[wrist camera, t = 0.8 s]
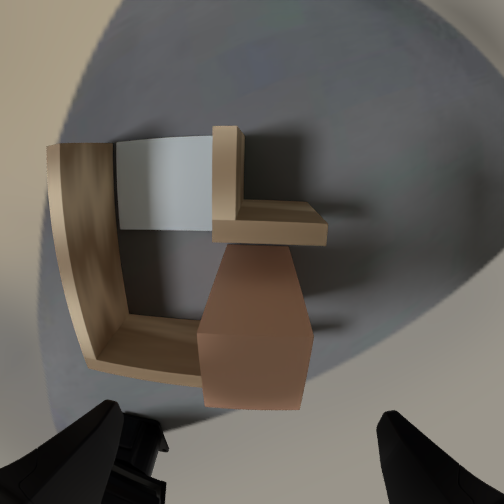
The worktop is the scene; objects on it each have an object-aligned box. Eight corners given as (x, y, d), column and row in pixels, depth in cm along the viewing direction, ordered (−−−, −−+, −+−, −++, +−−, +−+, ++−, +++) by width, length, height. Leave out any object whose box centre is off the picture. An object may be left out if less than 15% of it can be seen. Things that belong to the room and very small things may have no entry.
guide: (294, 334, 21) (303, 391, 15) (120, 322, 21) (88, 368, 16) (310, 139, 16) (333, 131, 11) (101, 144, 17) (46, 146, 11)
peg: (284, 300, 20) (299, 409, 11) (227, 298, 20) (204, 406, 11) (288, 246, 19) (313, 336, 9) (227, 244, 19) (196, 332, 9)
